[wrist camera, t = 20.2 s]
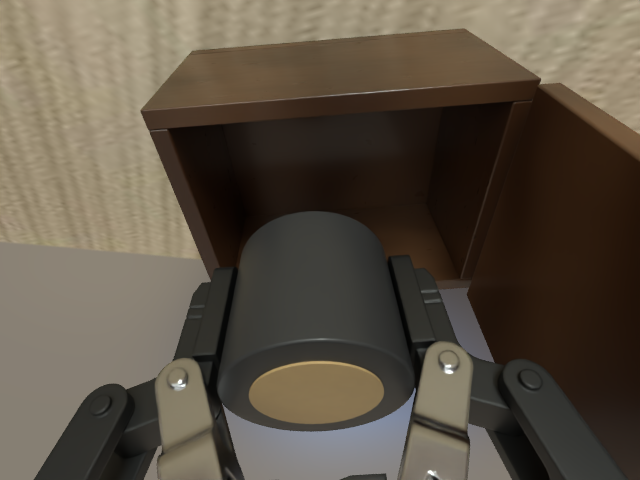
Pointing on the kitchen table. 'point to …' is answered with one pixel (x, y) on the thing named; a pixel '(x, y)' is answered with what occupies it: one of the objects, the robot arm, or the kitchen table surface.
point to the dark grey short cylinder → (314, 328)
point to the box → (345, 141)
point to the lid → (570, 264)
